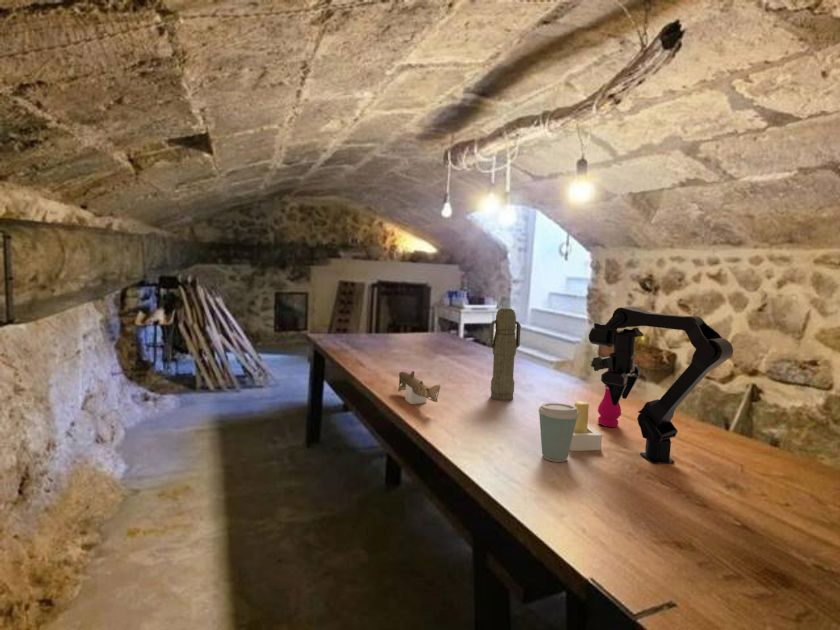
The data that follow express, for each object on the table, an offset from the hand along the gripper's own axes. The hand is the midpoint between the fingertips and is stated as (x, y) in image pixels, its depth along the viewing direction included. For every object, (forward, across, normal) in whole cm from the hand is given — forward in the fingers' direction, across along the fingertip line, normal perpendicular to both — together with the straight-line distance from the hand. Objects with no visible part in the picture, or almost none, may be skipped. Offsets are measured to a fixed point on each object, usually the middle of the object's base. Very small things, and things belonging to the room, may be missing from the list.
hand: (619, 401), depth 145 cm
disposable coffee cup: (+13, +22, -10) cm, 27 cm away
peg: (+13, +8, -8) cm, 17 cm away
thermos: (+14, -20, -49) cm, 55 cm away
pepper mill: (+13, -16, -8) cm, 22 cm away
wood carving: (+14, +8, -69) cm, 71 cm away
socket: (+13, +8, -8) cm, 17 cm away
